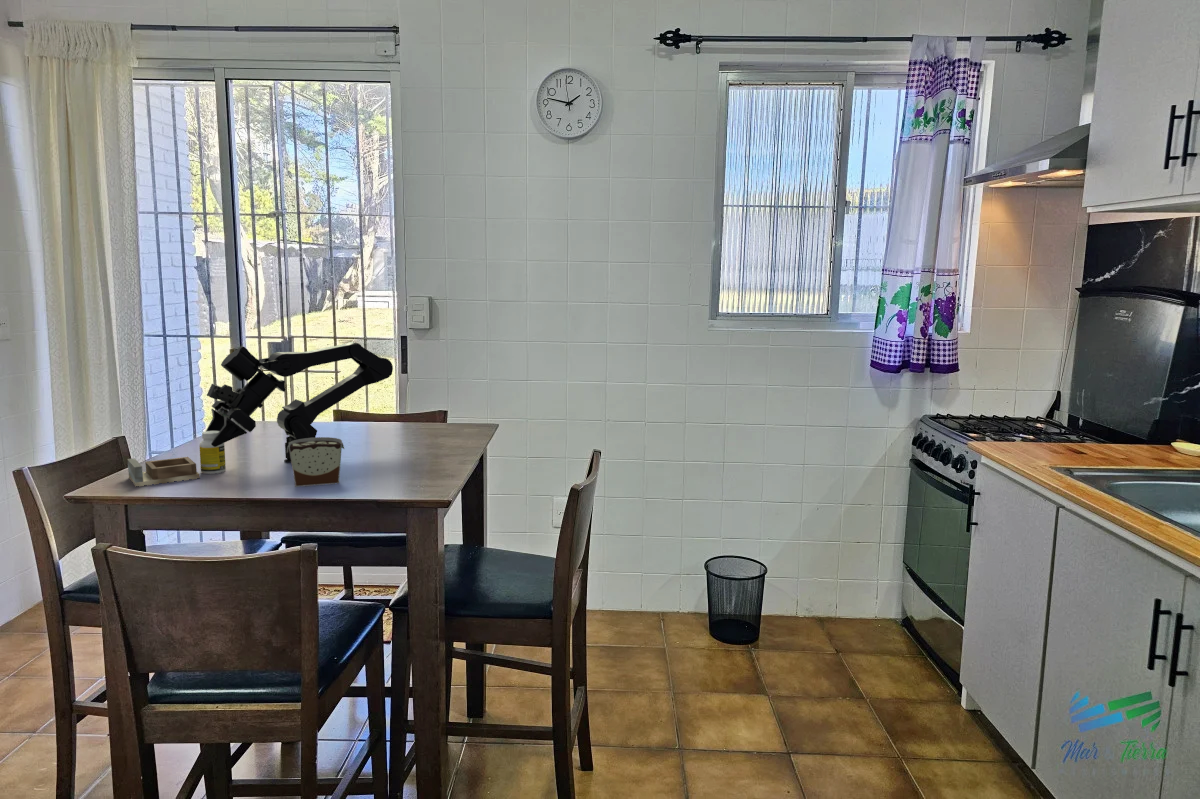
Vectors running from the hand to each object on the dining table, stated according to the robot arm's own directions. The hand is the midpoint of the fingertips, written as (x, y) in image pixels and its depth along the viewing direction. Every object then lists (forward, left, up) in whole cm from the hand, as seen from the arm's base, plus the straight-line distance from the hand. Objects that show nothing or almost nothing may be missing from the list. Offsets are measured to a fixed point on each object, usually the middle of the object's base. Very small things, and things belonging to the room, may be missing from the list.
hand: (208, 442), depth 188 cm
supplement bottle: (-1, -1, -8) cm, 8 cm away
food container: (-29, +5, -8) cm, 31 cm away
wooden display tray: (+7, +7, -7) cm, 12 cm away
